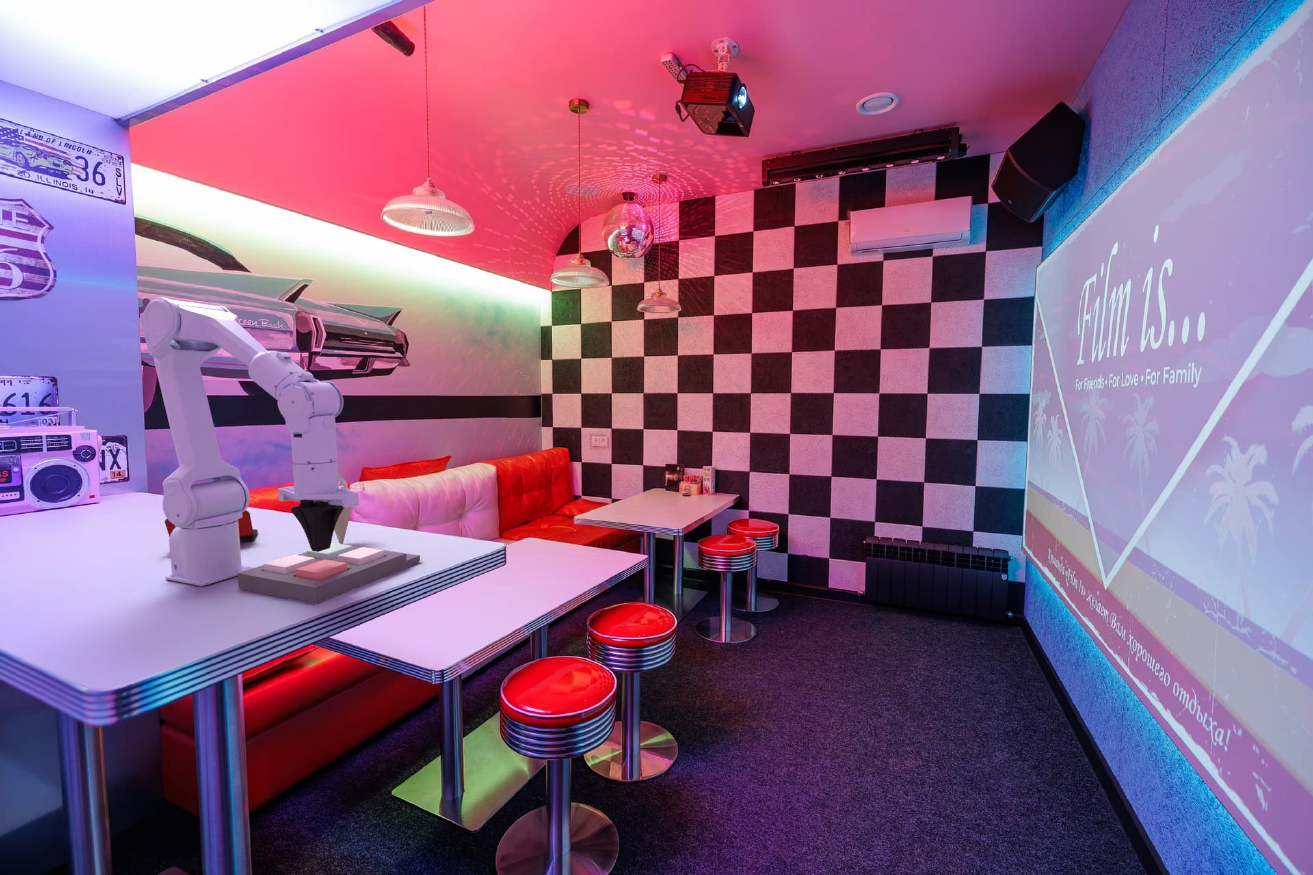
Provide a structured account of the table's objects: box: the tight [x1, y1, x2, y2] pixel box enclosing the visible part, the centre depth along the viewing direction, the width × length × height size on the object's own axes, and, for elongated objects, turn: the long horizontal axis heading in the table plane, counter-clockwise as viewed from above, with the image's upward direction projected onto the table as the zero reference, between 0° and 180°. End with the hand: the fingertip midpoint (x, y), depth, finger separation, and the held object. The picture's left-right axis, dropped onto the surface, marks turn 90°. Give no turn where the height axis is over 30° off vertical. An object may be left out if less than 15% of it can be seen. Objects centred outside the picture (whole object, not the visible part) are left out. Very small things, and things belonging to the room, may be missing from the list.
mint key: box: [306, 542, 354, 560], centre depth 91 cm, size 5×5×1 cm
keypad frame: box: [237, 543, 421, 605], centre depth 88 cm, size 17×20×2 cm
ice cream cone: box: [334, 469, 353, 544], centre depth 104 cm, size 5×5×15 cm
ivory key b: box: [337, 546, 385, 566], centre depth 89 cm, size 5×5×1 cm
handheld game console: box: [164, 509, 259, 544], centre depth 105 cm, size 12×11×7 cm
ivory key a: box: [263, 554, 315, 575], centre depth 85 cm, size 5×5×1 cm
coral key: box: [295, 560, 347, 581], centre depth 82 cm, size 5×5×1 cm
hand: (321, 549), depth 82 cm, fingers closed
